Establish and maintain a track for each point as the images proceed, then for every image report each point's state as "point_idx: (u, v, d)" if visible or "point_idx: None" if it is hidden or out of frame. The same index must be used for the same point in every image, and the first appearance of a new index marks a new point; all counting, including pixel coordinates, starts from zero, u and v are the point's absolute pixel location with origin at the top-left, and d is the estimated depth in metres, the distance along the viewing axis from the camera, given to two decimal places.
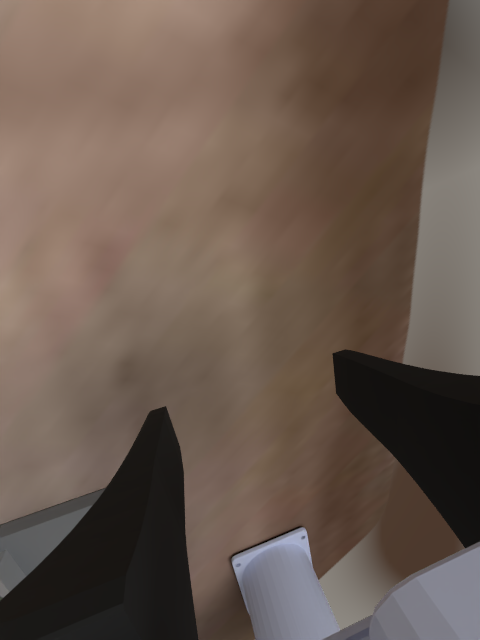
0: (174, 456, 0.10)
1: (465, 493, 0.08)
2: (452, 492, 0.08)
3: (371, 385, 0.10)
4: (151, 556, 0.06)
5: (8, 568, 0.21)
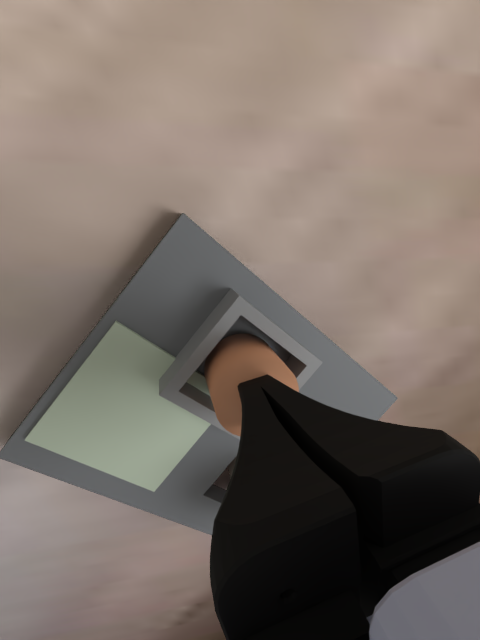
0: None
1: None
2: None
3: (278, 417, 0.10)
4: None
5: None
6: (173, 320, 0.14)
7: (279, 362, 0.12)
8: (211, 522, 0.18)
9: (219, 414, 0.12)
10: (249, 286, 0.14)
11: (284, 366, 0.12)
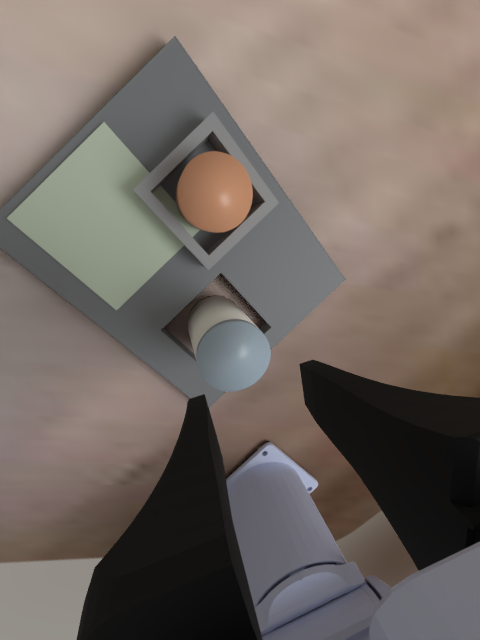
0: (216, 442, 0.10)
1: (415, 515, 0.07)
2: (404, 513, 0.08)
3: (332, 398, 0.10)
4: (227, 526, 0.06)
5: None
6: (154, 138, 0.16)
7: (238, 162, 0.14)
8: (165, 363, 0.20)
9: (182, 196, 0.14)
10: (224, 124, 0.16)
11: (242, 166, 0.14)
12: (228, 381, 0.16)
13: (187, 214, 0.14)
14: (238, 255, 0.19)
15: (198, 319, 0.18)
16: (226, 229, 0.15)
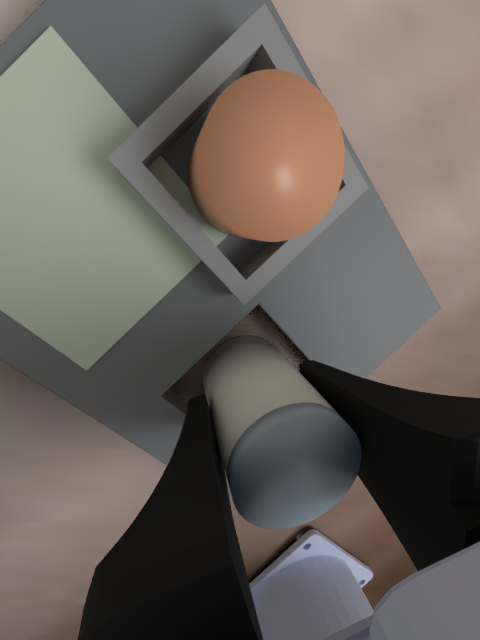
0: (216, 441, 0.10)
1: (414, 516, 0.07)
2: (404, 513, 0.08)
3: (332, 399, 0.10)
4: (228, 525, 0.06)
5: None
6: (150, 66, 0.09)
7: (322, 98, 0.07)
8: (168, 443, 0.13)
9: (207, 167, 0.07)
10: None
11: (329, 107, 0.07)
12: (285, 513, 0.09)
13: (216, 205, 0.07)
14: (287, 275, 0.12)
15: (224, 385, 0.11)
16: (290, 235, 0.08)
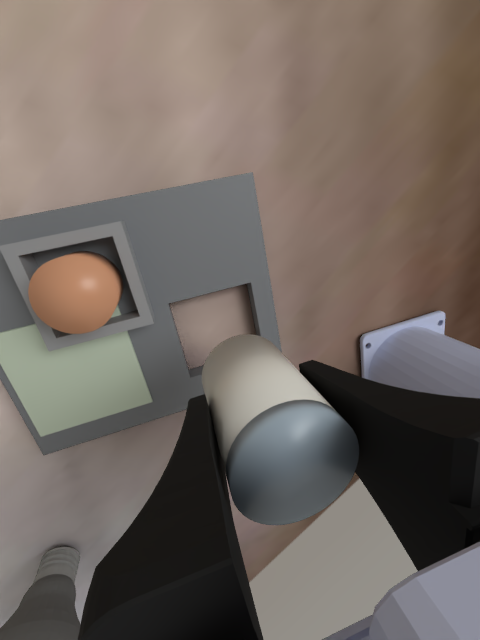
0: (216, 441, 0.10)
1: (414, 516, 0.07)
2: (404, 513, 0.08)
3: (332, 399, 0.10)
4: (228, 525, 0.06)
5: (129, 240, 0.16)
6: (14, 301, 0.16)
7: (51, 260, 0.13)
8: None
9: (63, 328, 0.14)
10: (22, 228, 0.15)
11: (56, 259, 0.13)
12: (284, 509, 0.09)
13: (82, 332, 0.14)
14: (160, 279, 0.18)
15: (222, 384, 0.11)
16: (113, 304, 0.14)
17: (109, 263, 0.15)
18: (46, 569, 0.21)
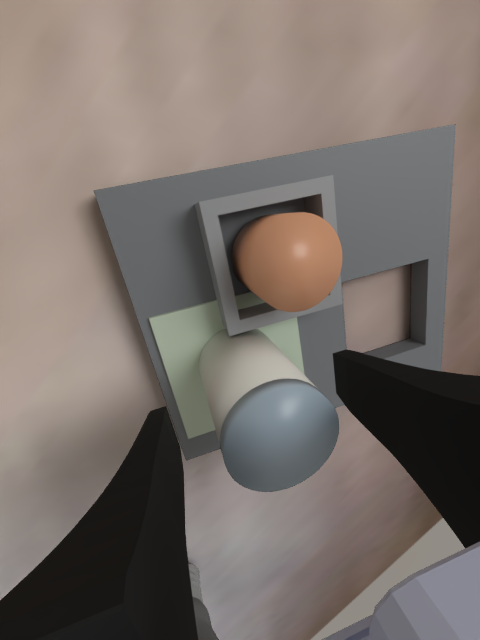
0: (174, 456, 0.10)
1: (465, 493, 0.08)
2: (452, 492, 0.08)
3: (371, 385, 0.10)
4: (151, 556, 0.06)
5: None
6: (184, 276, 0.13)
7: (282, 216, 0.10)
8: None
9: (279, 305, 0.11)
10: (206, 185, 0.12)
11: (290, 214, 0.10)
12: (272, 477, 0.10)
13: (298, 310, 0.11)
14: None
15: (217, 368, 0.12)
16: (337, 274, 0.11)
17: None
18: None
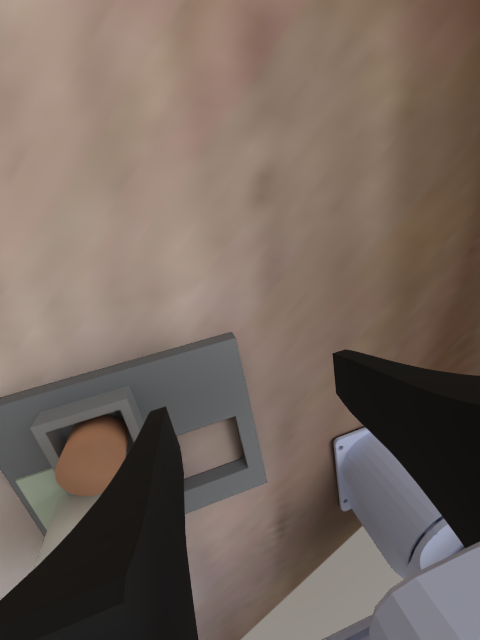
0: (174, 456, 0.10)
1: (465, 493, 0.08)
2: (452, 492, 0.08)
3: (371, 385, 0.10)
4: (151, 556, 0.06)
5: (133, 403, 0.19)
6: (39, 452, 0.20)
7: (72, 448, 0.16)
8: (211, 496, 0.24)
9: (81, 493, 0.17)
10: (47, 400, 0.19)
11: (77, 448, 0.16)
12: None
13: (96, 494, 0.18)
14: None
15: (49, 528, 0.18)
16: None
17: (117, 425, 0.19)
18: None
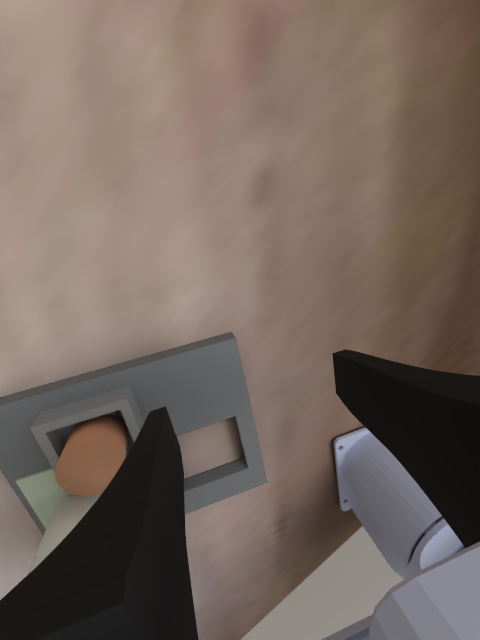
0: (174, 456, 0.10)
1: (465, 493, 0.08)
2: (452, 492, 0.08)
3: (371, 385, 0.10)
4: (151, 556, 0.06)
5: (133, 403, 0.19)
6: (39, 452, 0.20)
7: (72, 449, 0.16)
8: (211, 496, 0.24)
9: (81, 493, 0.17)
10: (47, 401, 0.19)
11: (77, 448, 0.16)
12: None
13: (96, 494, 0.18)
14: None
15: (46, 528, 0.18)
16: None
17: (117, 425, 0.19)
18: None
